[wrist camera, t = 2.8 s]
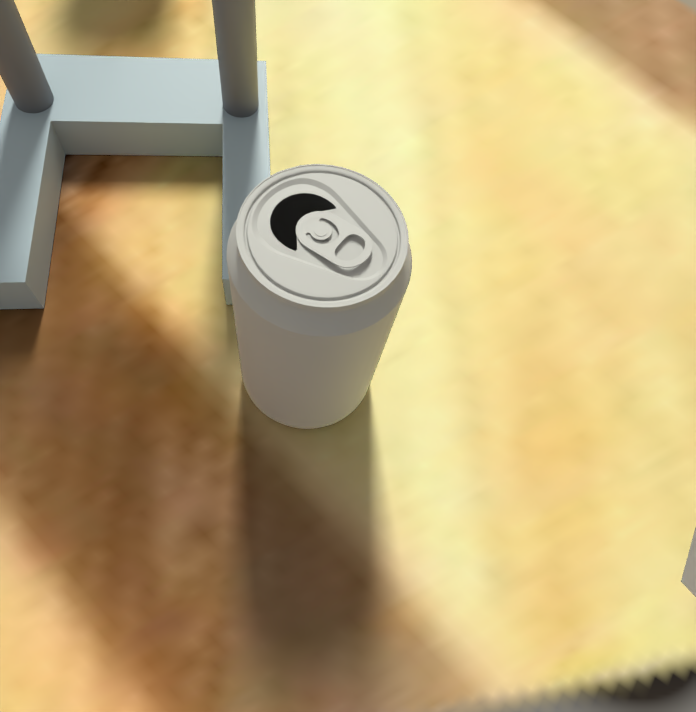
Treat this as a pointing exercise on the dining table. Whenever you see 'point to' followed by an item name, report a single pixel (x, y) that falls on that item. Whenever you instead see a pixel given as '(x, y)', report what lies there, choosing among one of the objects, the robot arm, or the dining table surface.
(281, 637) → the dining table surface
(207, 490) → the dining table surface
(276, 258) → the beverage can
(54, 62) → the grey arch frame
